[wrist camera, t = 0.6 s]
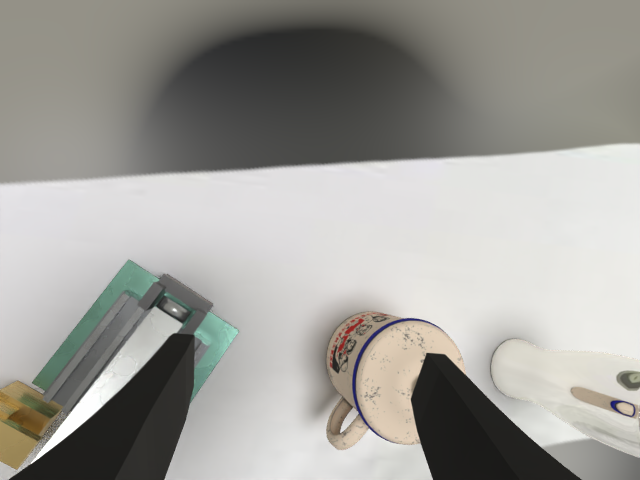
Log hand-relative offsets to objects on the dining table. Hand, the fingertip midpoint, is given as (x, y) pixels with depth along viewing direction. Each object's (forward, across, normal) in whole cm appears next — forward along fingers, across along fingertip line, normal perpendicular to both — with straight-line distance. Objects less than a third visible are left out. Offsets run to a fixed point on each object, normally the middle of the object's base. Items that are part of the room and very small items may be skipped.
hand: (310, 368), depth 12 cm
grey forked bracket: (+19, +9, +12) cm, 24 cm away
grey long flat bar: (+11, +12, +14) cm, 21 cm away
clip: (+13, +19, +19) cm, 30 cm away
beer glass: (+21, -25, +18) cm, 37 cm away
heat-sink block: (+16, +12, +16) cm, 26 cm away
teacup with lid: (+18, -8, +17) cm, 26 cm away
